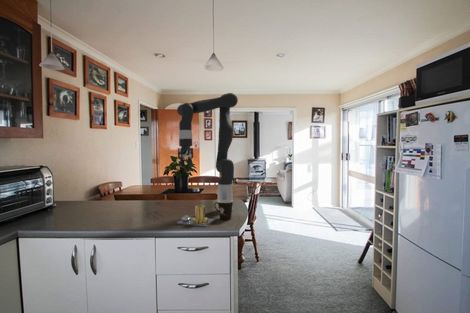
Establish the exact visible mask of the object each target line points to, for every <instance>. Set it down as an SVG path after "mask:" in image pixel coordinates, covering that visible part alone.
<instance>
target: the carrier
mask: <svg viewBox="0 0 470 313" xmlns="http://www.w3.org/2000/svg"><path fill="white" fill-rule="evenodd" d="M193 218H195V217H193V216H188V214H185V215H184V216H182V217H181V220H179V221H177V222H176V225H180V224H181V226H192V227H193V226H194V227H208V226H209V225H211V224H213V223H214V222H215V221H216V220H215V219H214V218H208V222H205V223H203V222H202V223H194V222H192V219H193Z"/></svg>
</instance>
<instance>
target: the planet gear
mask: <svg viewBox="0 0 470 313" xmlns="http://www.w3.org/2000/svg"><path fill="white" fill-rule="evenodd" d="M194 207H195V210H194V211H195V212H194V213H195V215H194V216H195V218H193V219H192V222H194V223H202V222H203V223H205V222H208V219H209V218H208V217H206V211H205V210H206V206H205V205H202V204H201V205H195V206H194Z"/></svg>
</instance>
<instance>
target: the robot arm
mask: <svg viewBox="0 0 470 313" xmlns="http://www.w3.org/2000/svg"><path fill="white" fill-rule="evenodd" d="M238 100H239V98H238V96H237V95H236V94H235V93H233V92H227V93H224V94H222V95H221V96H220V97H219V96H218V97H214V98H208V99H201V100H197V101H196V100H195V101H193V102H189V103H188V102H185V103H182V104H179V105H178V106H177V110H176V112H177V114H178V115H179V116H181V119H180V121H179V124H178V125H179V127H178V128H179V129H178V130H179V131H178V132H179V133H178V145H179V148H177V159H178V160H179V161H180V167H183V168H184V167H185V158H186V157H187V158H186V159H187V166H192V159H193V158H194V148H192V146H193V132H192V130H193V129H192V126H193V125H192V123H193V122H192V121H193V117H194V114H199V113H205V112H209V111H212V110H216V109H219V122H218V124H219V125H218V143H217V155H216V160H215V169H216V170H217V172H218V173H220V178H219V179H217V188H218V189H217V194H218V196H217V198H218V199H217V202H218V201H220V200H232V201H233V202H234V200H233V198H234V197H233V181H234V176H235V164H234V162H233V161H232V160H231V159H229V158H228V152H229V148H230V147H231V144H232V142H233V139H234V138H233V137H234V127H233V124H232V121H231V118H230V117H231V116H230V113H231V112H230V111H231V108H234V107H235V106H237V104H238V103H239V102H238ZM217 209H218V210H219V207H218V208H217ZM233 209H234V207H233V205H232V211H233Z"/></svg>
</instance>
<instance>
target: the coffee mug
mask: <svg viewBox="0 0 470 313" xmlns="http://www.w3.org/2000/svg"><path fill="white" fill-rule="evenodd" d="M213 204H214V205H213V206H214V209H215V211H217V212H218V213H219V220H220V221H230V220H231V219H232V215H233V214H232V212H233V210H232V205H233V204H234V200H233V201H232V200H220V201H218V200H217V201H216V202H215V203H213ZM216 205H218V207H219V210H218V208H217V207H216Z"/></svg>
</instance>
